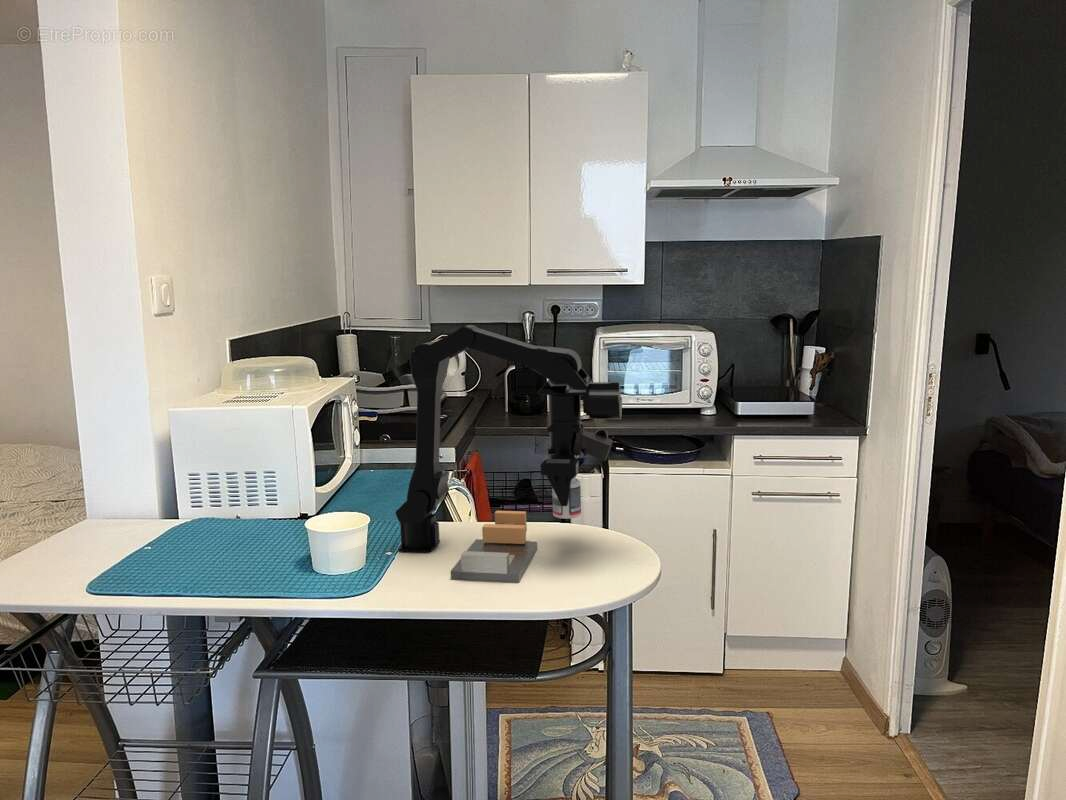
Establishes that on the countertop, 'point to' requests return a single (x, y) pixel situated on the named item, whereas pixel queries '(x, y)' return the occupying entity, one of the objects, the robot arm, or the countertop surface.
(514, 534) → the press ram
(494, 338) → the robot arm
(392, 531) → the countertop surface
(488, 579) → the silver frame
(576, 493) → the pill bottle
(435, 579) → the countertop surface
